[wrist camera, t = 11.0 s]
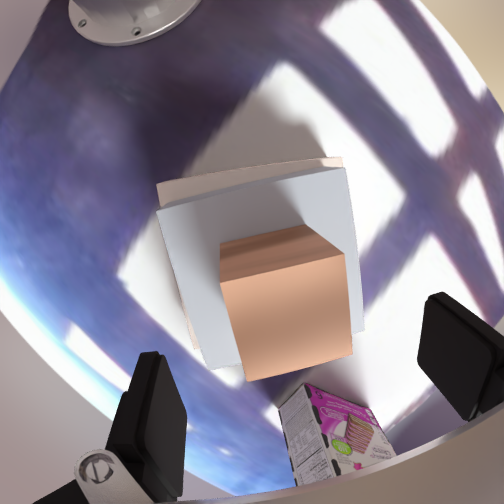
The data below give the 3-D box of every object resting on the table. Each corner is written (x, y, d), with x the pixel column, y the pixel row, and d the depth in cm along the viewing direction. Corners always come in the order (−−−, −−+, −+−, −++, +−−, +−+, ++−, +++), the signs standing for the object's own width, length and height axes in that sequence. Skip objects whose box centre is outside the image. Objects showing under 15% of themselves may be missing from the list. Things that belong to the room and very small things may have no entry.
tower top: (168, 202, 21) (156, 211, 17) (324, 166, 21) (345, 167, 17) (210, 340, 24) (208, 370, 20) (345, 306, 24) (364, 330, 20)
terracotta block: (219, 243, 18) (219, 282, 12) (305, 224, 18) (344, 253, 12) (239, 320, 19) (247, 381, 13) (317, 301, 19) (352, 354, 14)
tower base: (166, 180, 24) (156, 184, 20) (324, 157, 25) (342, 156, 21) (197, 325, 28) (194, 349, 24) (336, 300, 28) (352, 320, 25)
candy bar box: (372, 406, 32) (430, 509, 17) (345, 432, 33) (390, 535, 18) (303, 378, 30) (353, 513, 14) (275, 408, 31) (305, 540, 15)
